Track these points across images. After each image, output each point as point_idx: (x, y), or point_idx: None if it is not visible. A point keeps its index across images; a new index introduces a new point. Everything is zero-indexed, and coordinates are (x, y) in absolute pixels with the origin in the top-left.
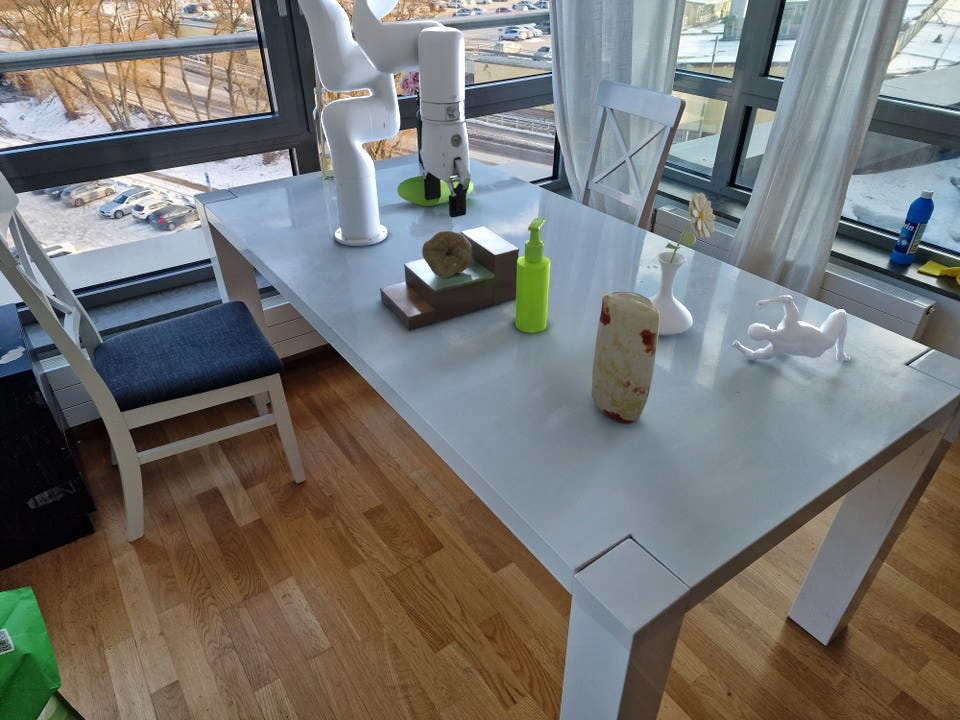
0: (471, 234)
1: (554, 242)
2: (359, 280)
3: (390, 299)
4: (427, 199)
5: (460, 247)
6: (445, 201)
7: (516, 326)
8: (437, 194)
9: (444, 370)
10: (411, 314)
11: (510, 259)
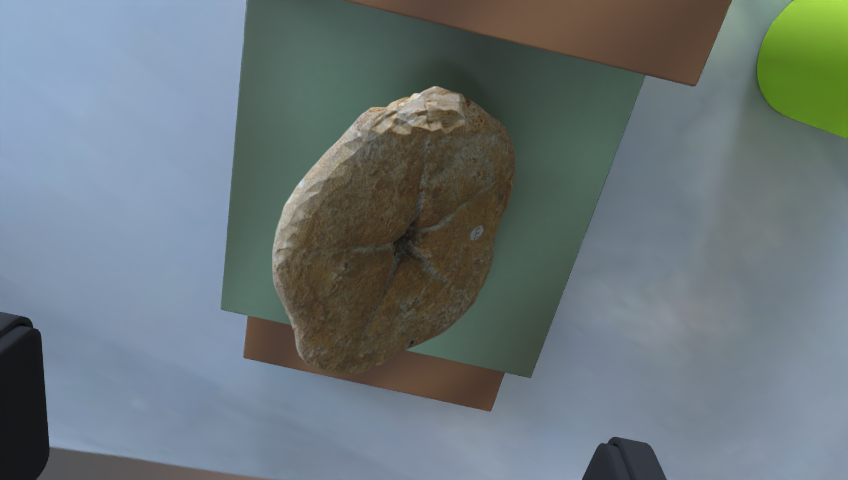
0: None
1: None
2: (67, 286)
3: (341, 378)
4: (45, 464)
5: (433, 177)
6: None
7: (786, 116)
8: (8, 387)
9: (723, 433)
10: (484, 396)
11: None
